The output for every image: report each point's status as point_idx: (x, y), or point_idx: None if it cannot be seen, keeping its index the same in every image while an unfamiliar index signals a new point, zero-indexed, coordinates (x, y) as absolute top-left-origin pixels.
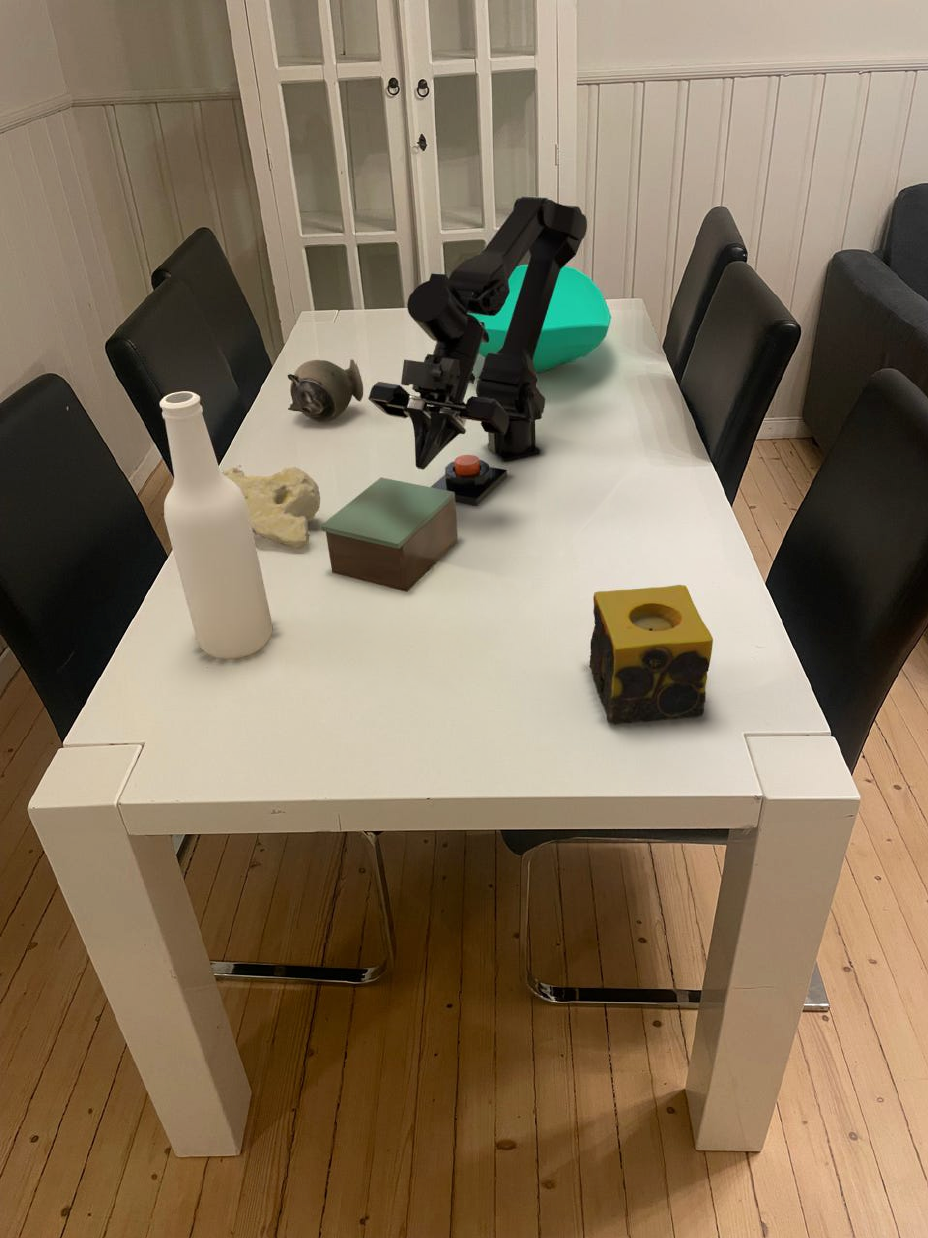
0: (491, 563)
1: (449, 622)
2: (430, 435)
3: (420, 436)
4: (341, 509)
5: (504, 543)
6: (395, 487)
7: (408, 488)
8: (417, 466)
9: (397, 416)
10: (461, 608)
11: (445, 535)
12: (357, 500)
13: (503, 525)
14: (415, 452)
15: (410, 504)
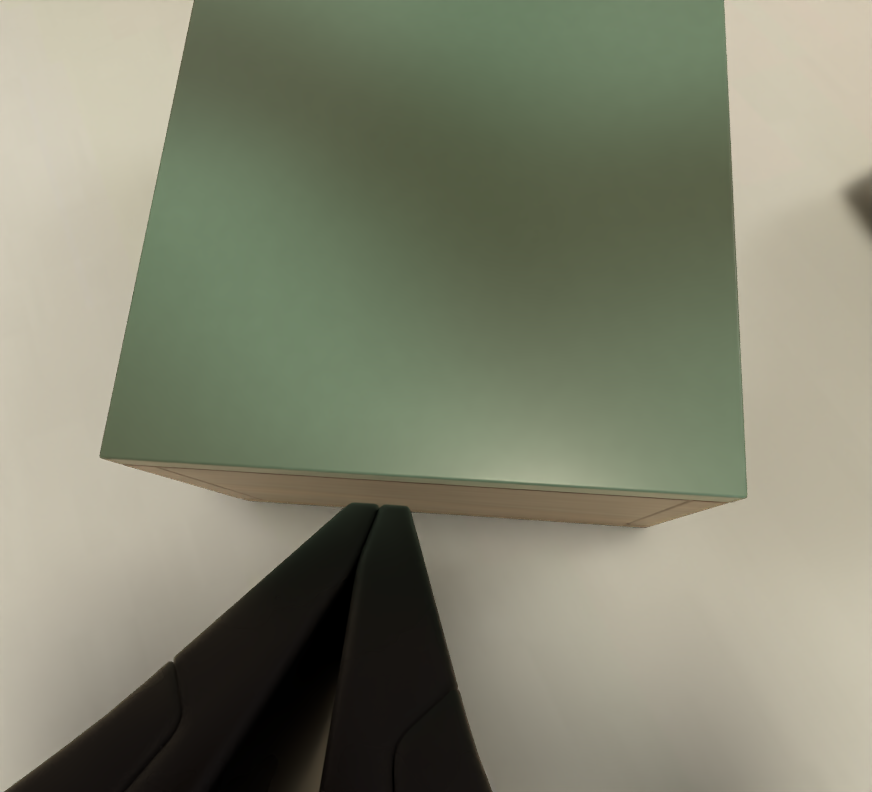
0: (60, 386)
1: (107, 27)
2: (168, 754)
3: (358, 734)
4: (720, 21)
5: (42, 556)
6: (540, 382)
7: (441, 401)
8: (389, 505)
9: None
10: (91, 100)
11: None
12: (693, 139)
13: (83, 722)
14: (424, 580)
15: (326, 210)
